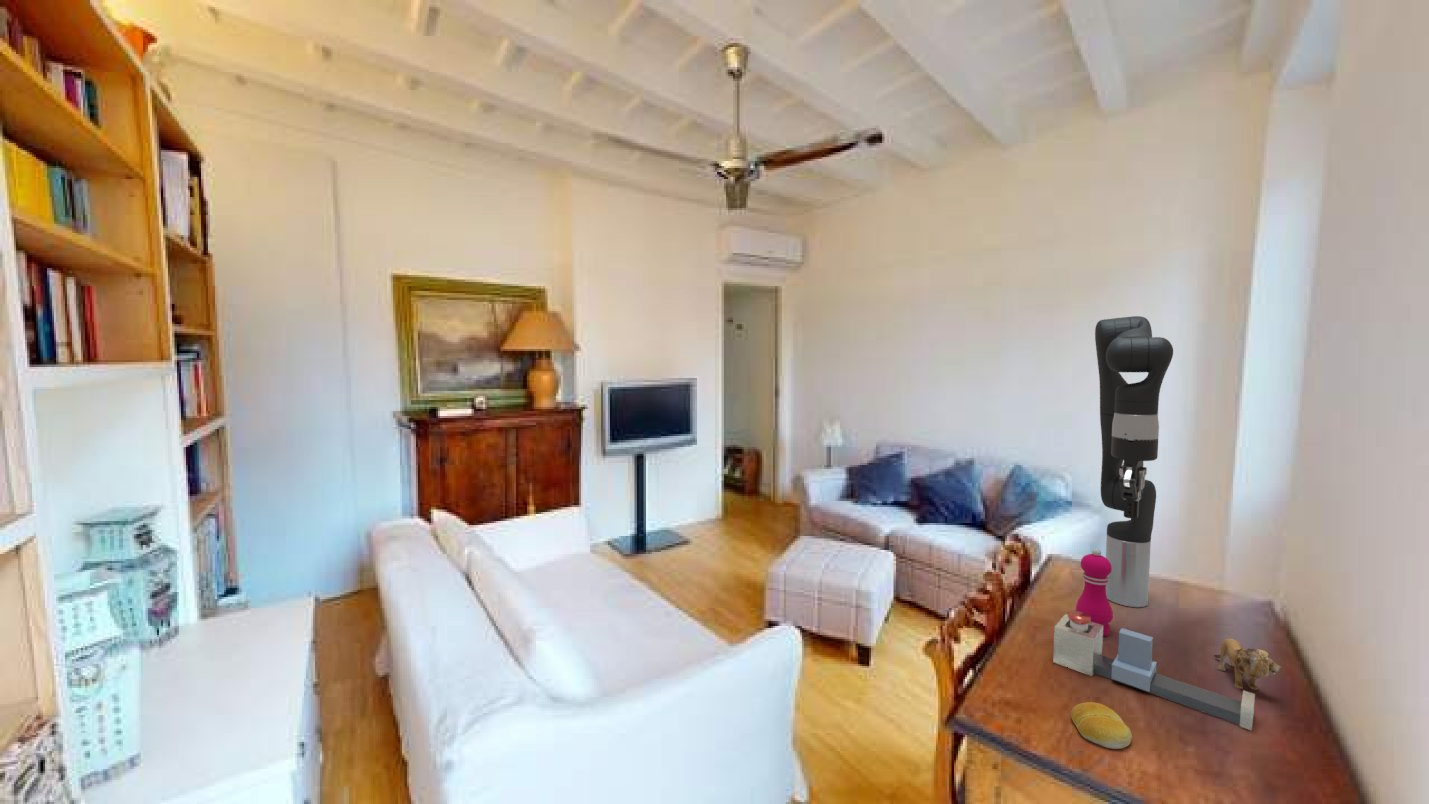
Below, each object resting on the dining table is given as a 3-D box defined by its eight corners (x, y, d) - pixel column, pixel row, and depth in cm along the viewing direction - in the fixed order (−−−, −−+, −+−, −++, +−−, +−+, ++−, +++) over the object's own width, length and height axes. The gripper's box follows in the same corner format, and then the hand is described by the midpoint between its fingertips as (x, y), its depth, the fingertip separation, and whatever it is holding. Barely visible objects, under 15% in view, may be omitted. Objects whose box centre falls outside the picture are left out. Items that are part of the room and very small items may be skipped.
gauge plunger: (1070, 634, 116) (1071, 609, 116) (1091, 641, 113) (1092, 615, 113) (1064, 641, 114) (1065, 615, 113) (1086, 648, 111) (1088, 622, 110)
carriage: (1119, 664, 111) (1121, 623, 110) (1156, 676, 107) (1158, 633, 106) (1111, 678, 106) (1113, 635, 106) (1149, 692, 102) (1151, 647, 101)
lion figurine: (1282, 703, 99) (1286, 658, 98) (1248, 699, 100) (1251, 654, 100) (1228, 659, 113) (1230, 619, 113) (1198, 656, 115) (1201, 617, 114)
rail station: (1064, 648, 119) (1065, 614, 118) (1253, 712, 97) (1256, 670, 96) (1053, 662, 114) (1054, 626, 113) (1251, 733, 92) (1254, 690, 91)
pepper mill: (1100, 622, 130) (1103, 543, 128) (1119, 638, 123) (1123, 554, 121) (1068, 621, 131) (1071, 543, 129) (1086, 637, 123) (1089, 554, 122)
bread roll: (1086, 748, 89) (1087, 725, 89) (1064, 713, 98) (1065, 692, 98) (1143, 755, 88) (1144, 732, 87) (1115, 719, 96) (1116, 698, 96)
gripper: (1119, 430, 116) (1115, 507, 117) (1104, 437, 107) (1101, 520, 108) (1163, 433, 110) (1159, 514, 112) (1152, 441, 101) (1147, 529, 103)
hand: (1130, 517), depth 110 cm, fingers closed
